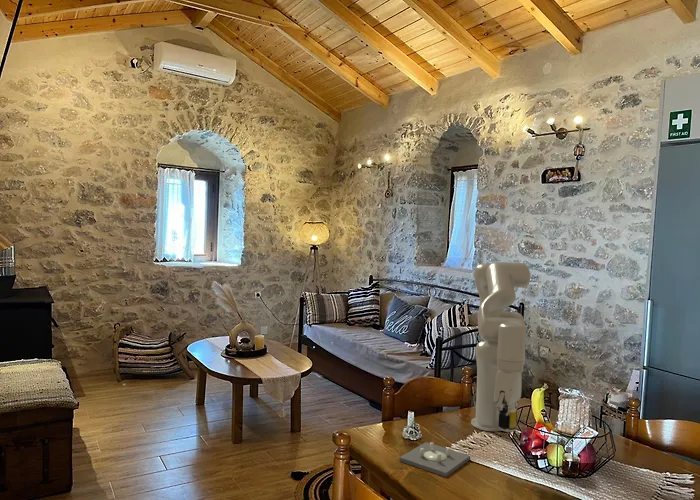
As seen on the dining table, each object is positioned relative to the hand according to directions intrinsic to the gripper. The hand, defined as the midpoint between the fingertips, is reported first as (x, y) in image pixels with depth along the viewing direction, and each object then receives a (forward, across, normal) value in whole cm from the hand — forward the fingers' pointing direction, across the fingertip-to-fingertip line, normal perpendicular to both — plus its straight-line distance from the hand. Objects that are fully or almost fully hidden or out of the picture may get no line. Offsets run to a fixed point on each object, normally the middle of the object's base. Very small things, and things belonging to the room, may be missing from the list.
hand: (507, 424), depth 159 cm
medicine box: (+15, -12, +12) cm, 23 cm away
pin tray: (+14, +8, -20) cm, 26 cm away
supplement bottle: (+2, 0, 0) cm, 2 cm away
